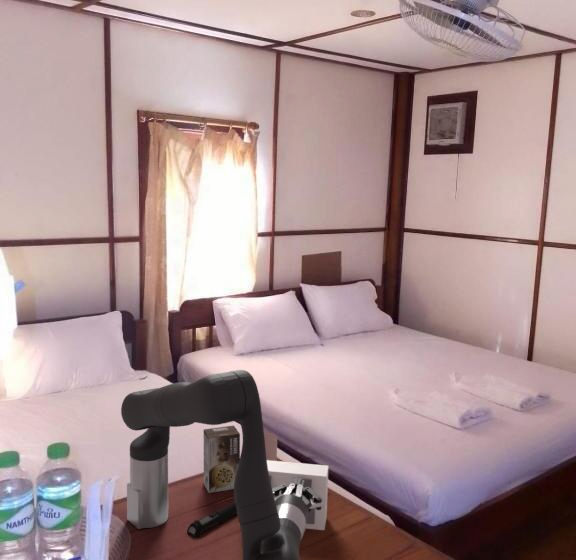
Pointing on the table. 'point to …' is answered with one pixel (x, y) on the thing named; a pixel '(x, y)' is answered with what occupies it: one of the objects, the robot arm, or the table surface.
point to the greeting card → (270, 446)
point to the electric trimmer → (211, 520)
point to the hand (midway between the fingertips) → (298, 481)
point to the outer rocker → (307, 483)
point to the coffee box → (221, 458)
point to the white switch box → (316, 473)
